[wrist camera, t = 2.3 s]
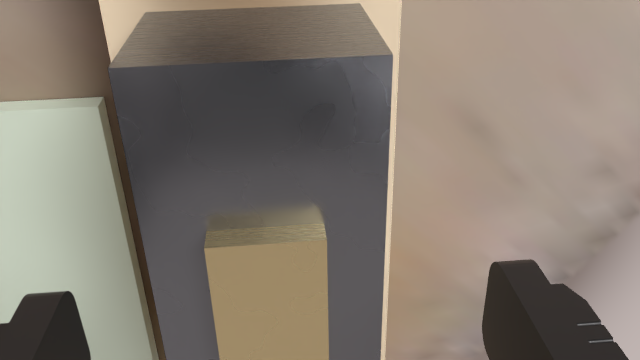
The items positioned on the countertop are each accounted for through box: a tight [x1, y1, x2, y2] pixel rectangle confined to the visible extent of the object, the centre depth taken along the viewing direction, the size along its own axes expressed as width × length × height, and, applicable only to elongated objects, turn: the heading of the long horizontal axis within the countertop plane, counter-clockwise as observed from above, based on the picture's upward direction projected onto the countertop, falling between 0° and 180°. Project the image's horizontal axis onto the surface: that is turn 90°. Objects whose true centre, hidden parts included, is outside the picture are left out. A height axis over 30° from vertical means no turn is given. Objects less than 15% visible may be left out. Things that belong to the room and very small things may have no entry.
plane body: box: [99, 0, 402, 360], centre depth 17 cm, size 7×20×7 cm, turn 1°
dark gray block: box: [108, 3, 393, 360], centre depth 14 cm, size 5×9×5 cm, turn 1°
